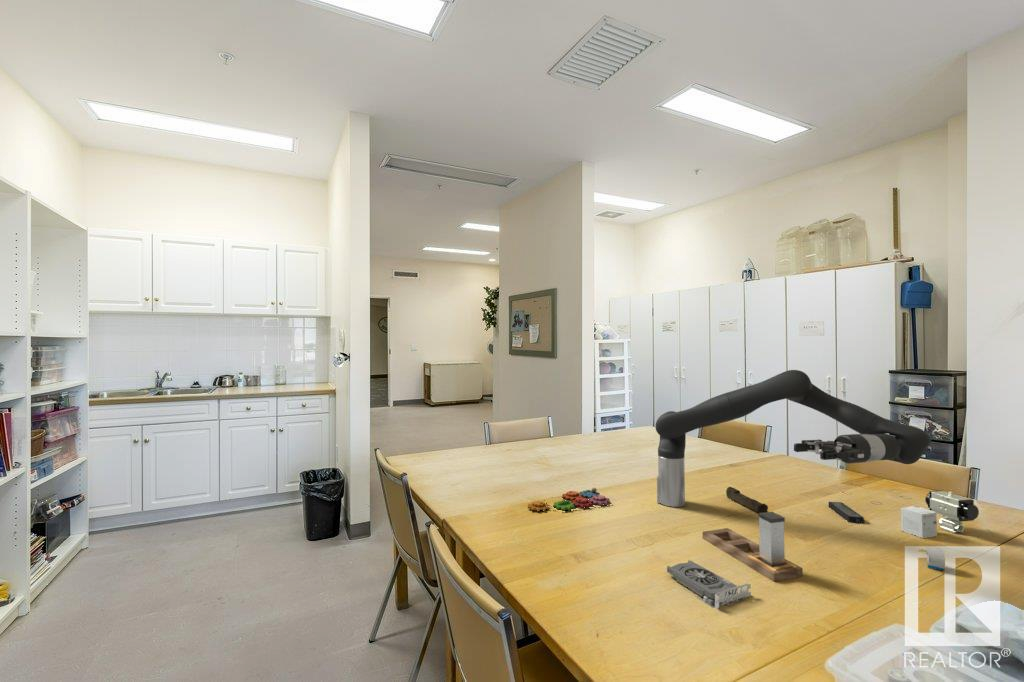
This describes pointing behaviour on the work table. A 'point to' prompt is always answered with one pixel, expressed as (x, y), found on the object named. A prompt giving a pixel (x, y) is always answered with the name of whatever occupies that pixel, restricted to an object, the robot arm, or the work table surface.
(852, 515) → the multiport hub
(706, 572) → the graphics card
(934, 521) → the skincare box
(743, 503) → the hand tool
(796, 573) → the rail
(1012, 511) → the work table surface
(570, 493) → the gear puzzle
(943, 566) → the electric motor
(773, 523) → the peg
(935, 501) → the pneumatic valve
